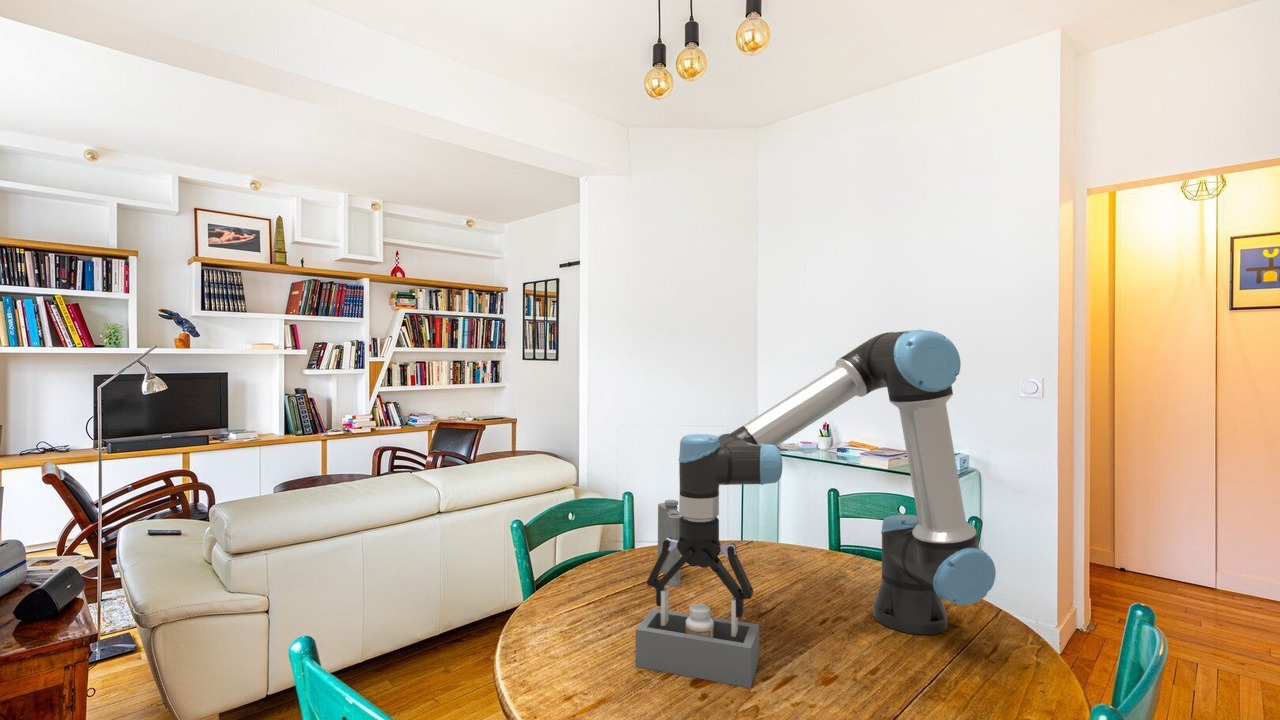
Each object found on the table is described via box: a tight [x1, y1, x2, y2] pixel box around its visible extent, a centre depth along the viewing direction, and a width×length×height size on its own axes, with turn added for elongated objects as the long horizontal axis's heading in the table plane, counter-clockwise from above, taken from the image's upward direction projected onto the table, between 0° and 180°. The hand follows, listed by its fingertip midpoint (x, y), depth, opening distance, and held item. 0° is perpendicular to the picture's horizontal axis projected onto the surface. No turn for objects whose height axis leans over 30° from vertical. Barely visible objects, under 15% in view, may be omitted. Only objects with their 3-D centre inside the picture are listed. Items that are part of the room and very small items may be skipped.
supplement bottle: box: [685, 603, 714, 638], centre depth 114 cm, size 5×5×10 cm
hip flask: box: [657, 499, 682, 588], centre depth 161 cm, size 16×4×20 cm, turn 10°
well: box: [634, 607, 760, 689], centre depth 114 cm, size 22×10×7 cm, turn 71°
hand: (699, 628), depth 114 cm, fingers open, 13 cm apart
